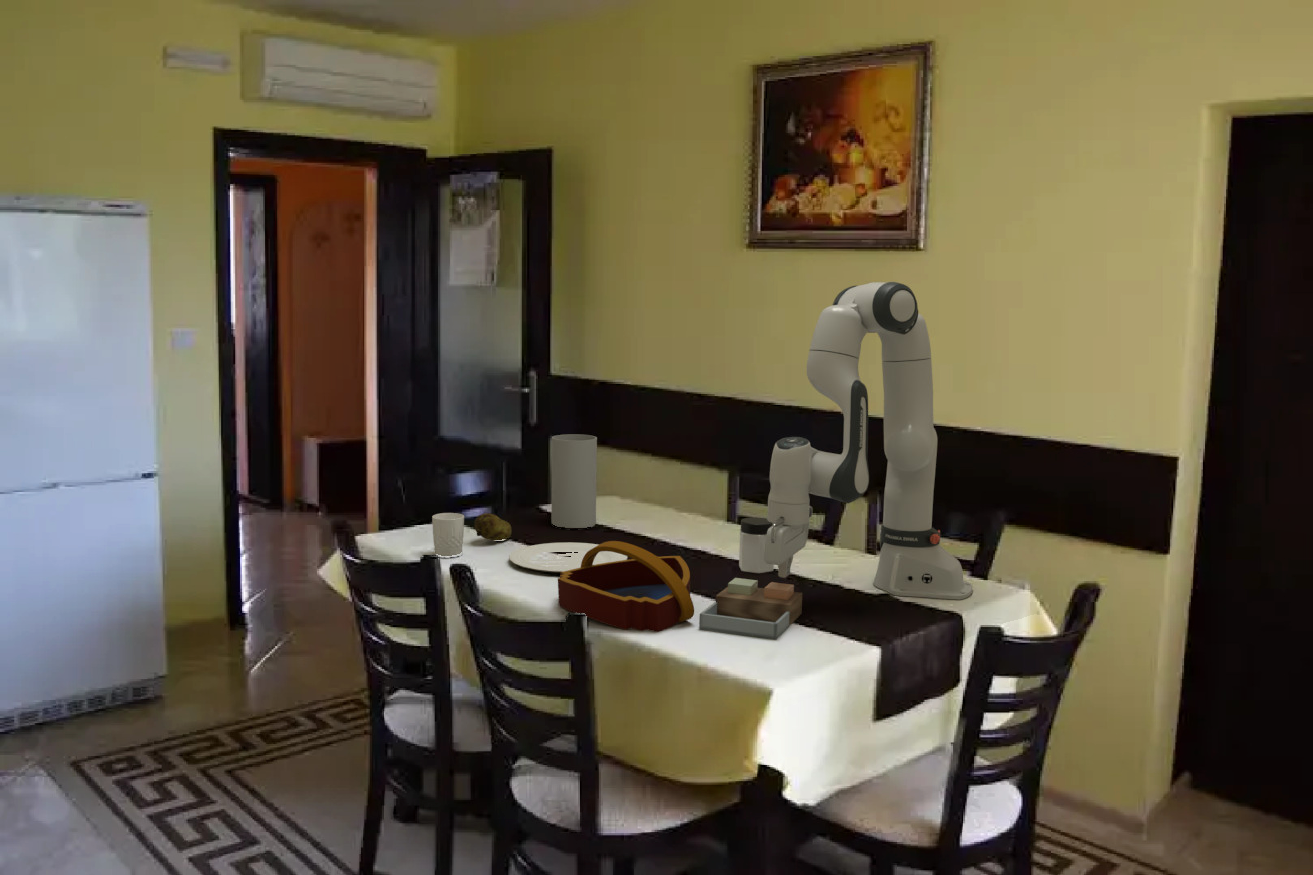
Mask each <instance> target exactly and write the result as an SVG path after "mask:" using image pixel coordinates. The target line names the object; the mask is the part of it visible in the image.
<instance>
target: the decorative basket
mask: <svg viewBox="0 0 1313 875" xmlns="http://www.w3.org/2000/svg"><path fill="white" fill-rule="evenodd" d="M601 551H610V552H615V553H619V554H622V555H625V556H627V557H628V558H629V559H627V560H622V561H615V562H608V563H602V564H596V565H593V561H594V559H595V557H596V555H597V554H598V553H599V552H601ZM557 590H558V591H557V592H558V593H557V594H558V606H559V607H561V608H563V609H564V610H567V611H570V612H571V613H575V612H577V613H576V614H579V613H585V614H586V616H588V617H587V618H589V619H592V620H594V621H597V622H600V623H603V624H606V625H609V626H611V627H615V628H617V629H618V628H620V629H622V630H625V631H626V630H630V629H634V630H636V631H640V632H643V631H645V630H647V631H651V632H655V633H660V632H662V631H667V629H670V628H672V627H673V626H675V625H676V624H678V623H683V622H687V621H688V620H690V619H692V618H693V616H694V614H695V607H694V602H693V600H692V597H691V572H690V568H689V566H688V564H687V562H686V561H685V560H684V559H683V557H681V555H668V556H658V555H656V554H654V553H652V552H650V551H648V550H646V549H644V548H643V547H639V546H638V545H635V544H631V543H628V542H624V541H618V540H609V541H603V542H601V543H600V544H598V546H596V547H594V548H592V549H591V550H589V551H588V552H587V553H586V554H585V556H584V557H583V560H582V563H581V568H577V569H572V570H568V571H564V572H561V573H560V575H559V577H558V578H557ZM586 616H585V617H586Z"/></svg>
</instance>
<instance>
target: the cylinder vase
mask: <svg viewBox="0 0 1313 875" xmlns="http://www.w3.org/2000/svg"><path fill="white" fill-rule="evenodd" d="M597 446H598V437H597V436H594V435H589V434H575V433H574V434H573V433H572V434H569V433H567V434H560V435H559V434H557V435H553V436H551V525H552V524H553V525H555V526H557V527H565V528H587V527H591V528H593V527H595V525H596V524H597V472H598V471H597V469H598V468H597V467H598V466H597V459H598V457H597V455H598V453H597V452H598V451H597V449H598V447H597ZM553 525H552V526H553ZM557 527H556V528H557ZM587 529H588V528H587Z"/></svg>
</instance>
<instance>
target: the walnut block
mask: <svg viewBox="0 0 1313 875" xmlns="http://www.w3.org/2000/svg"><path fill="white" fill-rule="evenodd" d="M764 588H765V587H758V588H757V590H756V591H755V592H754V593H753V594H751V595H744V594H736V593H728V586H727V587H725V588H724V589H723V590H721V591H720V592H719V593H718V594H716V595H715V602H717V615H724V616H732V617H739V618H747V619H754V620H762V621H770V622H776V621H777V620H778V619H779V618H780V617H781V616H782V615H783V614H785V613H786V612H789V627H790V626H791V625H792V624H794V622H795V621H796V620H797V619H798V618H799V617H800V616H801V615H802V612H803V611H802V610H803V608H802V607H803V592H797V591H794V594H793V595H792V596H791V597H790V598H789V599H788V600H784V599H776V598H768V597H764Z"/></svg>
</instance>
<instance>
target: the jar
mask: <svg viewBox="0 0 1313 875" xmlns="http://www.w3.org/2000/svg"><path fill="white" fill-rule="evenodd" d="M772 525H773V523H772V522H769V521H768V520H767V517H757V516H756V517H746V518H742V519H741V520H740V529H739V549H738V550H739V555H738V557H739V559H738V567H739V568H740V571H741V572H746V573H754V574H764V573H771V572H773V571H774V565H773V564H767V563H765V561H764V551H765V542H766V535H767V531H768V529H769V528H770V527H771V526H772Z"/></svg>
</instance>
